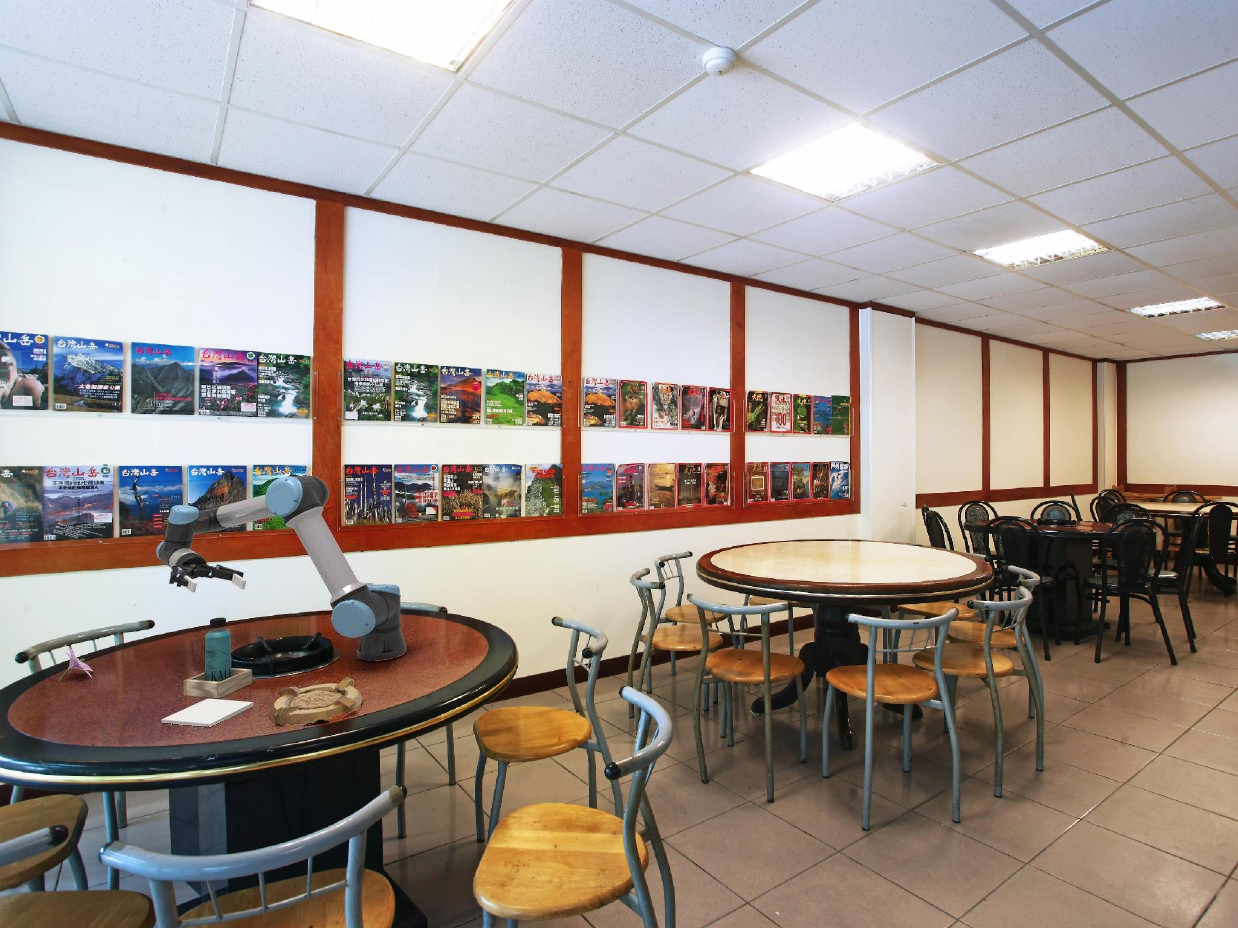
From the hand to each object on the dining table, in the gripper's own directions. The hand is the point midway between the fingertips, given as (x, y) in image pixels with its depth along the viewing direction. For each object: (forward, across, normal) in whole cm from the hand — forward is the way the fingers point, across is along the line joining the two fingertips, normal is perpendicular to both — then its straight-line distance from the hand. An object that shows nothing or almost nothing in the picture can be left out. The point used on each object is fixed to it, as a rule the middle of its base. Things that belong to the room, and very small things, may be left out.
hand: (220, 586), depth 192 cm
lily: (-31, +19, -38) cm, 52 cm away
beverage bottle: (+13, +1, -26) cm, 29 cm away
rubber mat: (+30, +11, -23) cm, 39 cm away
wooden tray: (+13, +1, -26) cm, 29 cm away
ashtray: (+48, -6, -18) cm, 51 cm away
